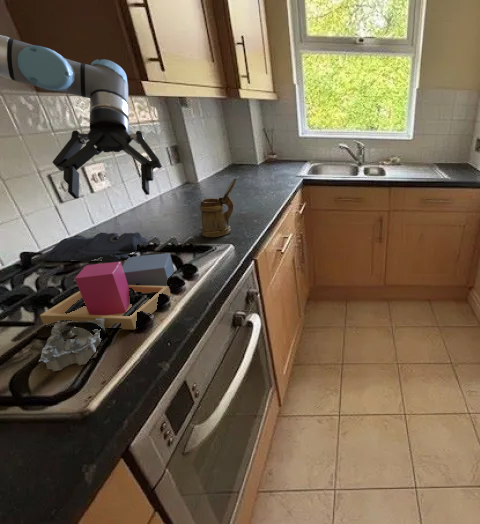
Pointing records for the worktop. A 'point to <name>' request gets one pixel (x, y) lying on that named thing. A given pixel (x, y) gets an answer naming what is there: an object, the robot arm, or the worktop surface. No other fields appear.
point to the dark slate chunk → (96, 247)
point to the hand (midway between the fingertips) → (110, 193)
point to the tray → (83, 315)
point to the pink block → (104, 288)
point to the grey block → (148, 269)
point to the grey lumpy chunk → (70, 346)
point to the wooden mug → (217, 214)
